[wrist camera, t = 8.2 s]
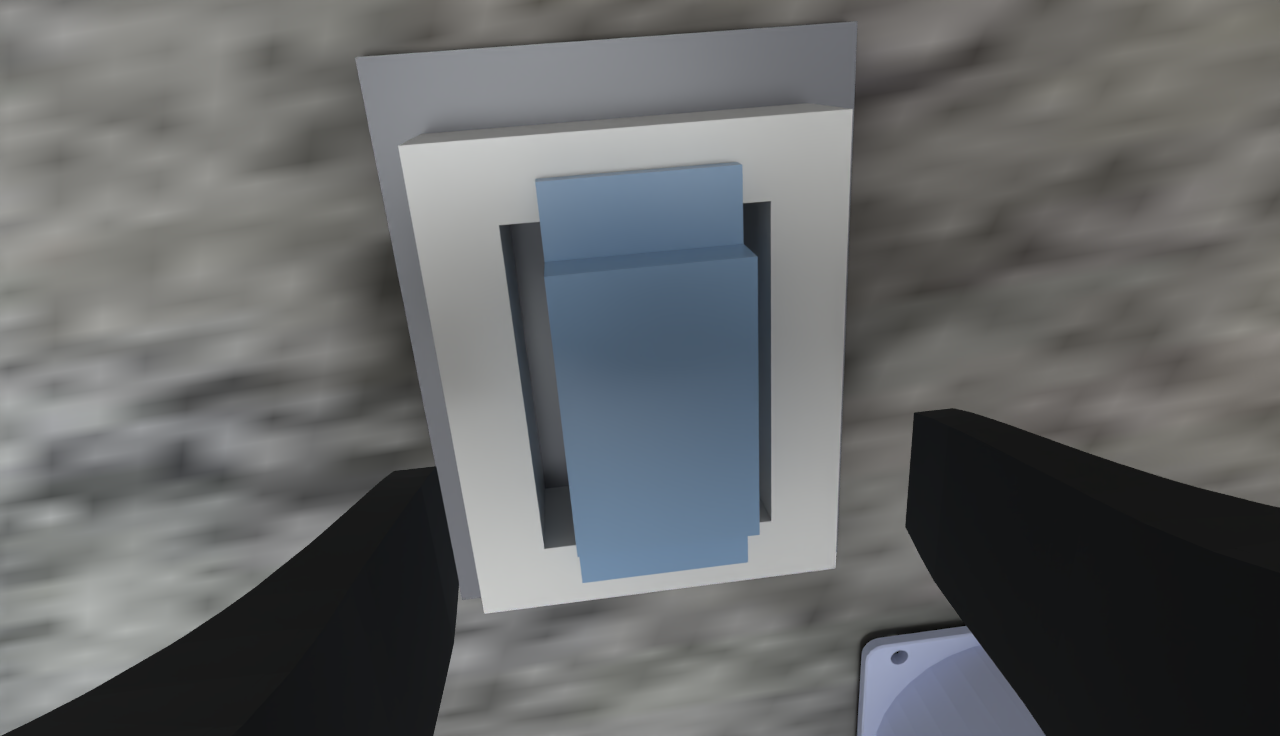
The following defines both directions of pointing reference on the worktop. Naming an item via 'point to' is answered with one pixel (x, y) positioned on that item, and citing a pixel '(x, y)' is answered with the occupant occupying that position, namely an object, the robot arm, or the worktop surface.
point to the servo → (655, 365)
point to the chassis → (514, 264)
